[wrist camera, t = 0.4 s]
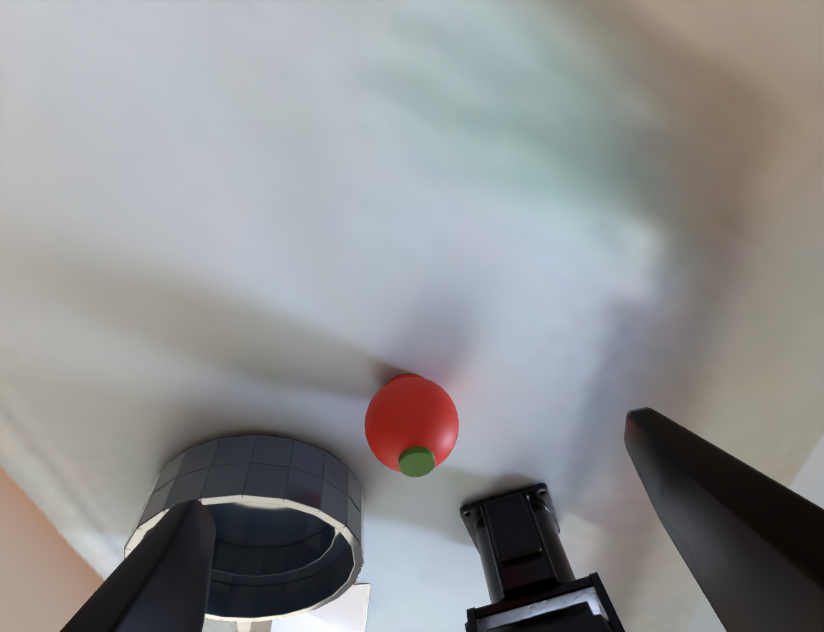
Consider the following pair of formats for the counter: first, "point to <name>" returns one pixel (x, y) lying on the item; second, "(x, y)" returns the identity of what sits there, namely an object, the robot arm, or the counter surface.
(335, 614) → the napkin holder
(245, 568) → the bowl
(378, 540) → the counter surface
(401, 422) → the tomato
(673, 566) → the counter surface
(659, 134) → the counter surface
